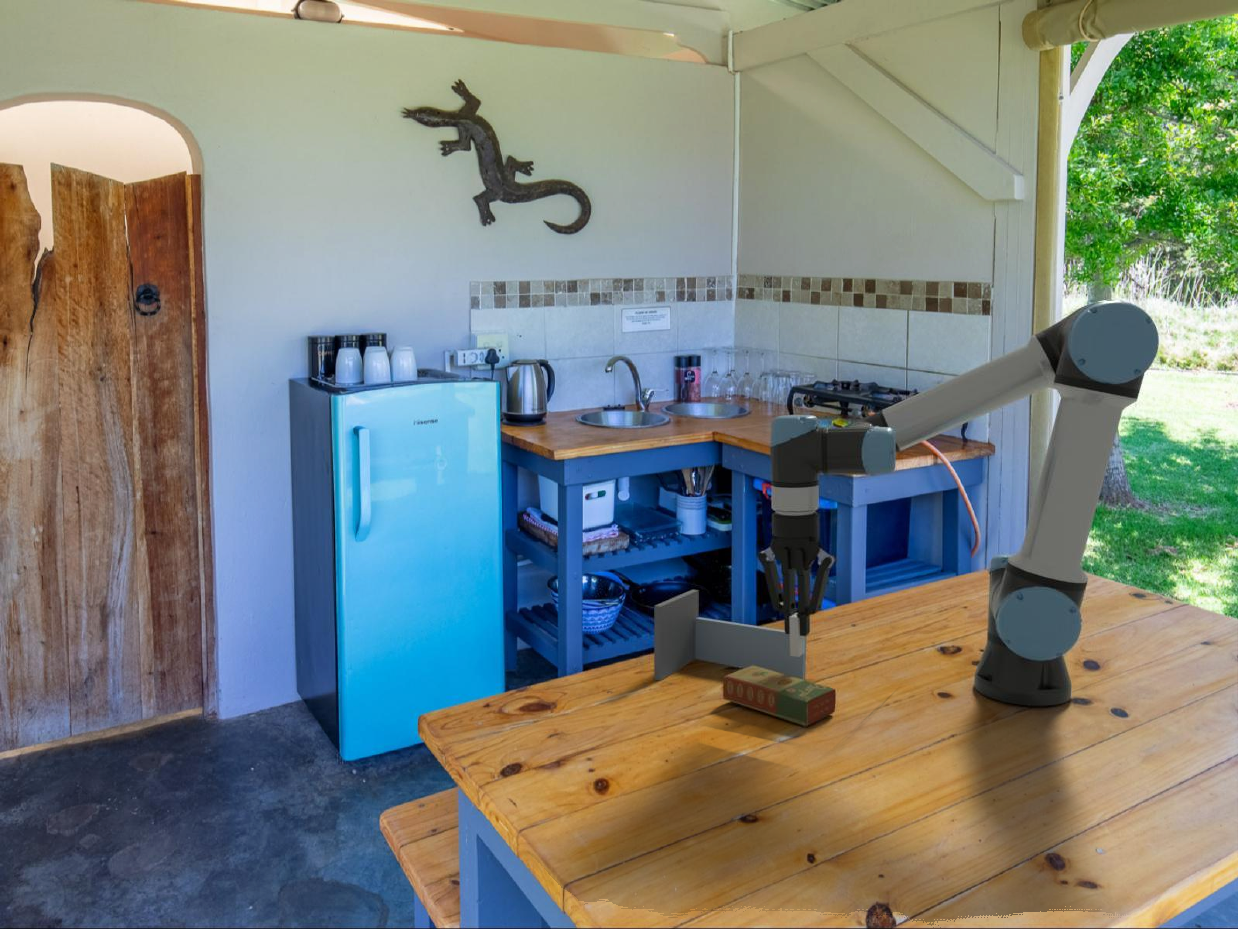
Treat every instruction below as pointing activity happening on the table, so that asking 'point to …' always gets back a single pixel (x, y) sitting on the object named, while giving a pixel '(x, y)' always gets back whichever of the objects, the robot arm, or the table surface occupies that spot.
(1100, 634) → the table surface
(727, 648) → the grey perpendicular panels
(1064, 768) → the table surface
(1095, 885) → the table surface
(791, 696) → the carton
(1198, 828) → the table surface
